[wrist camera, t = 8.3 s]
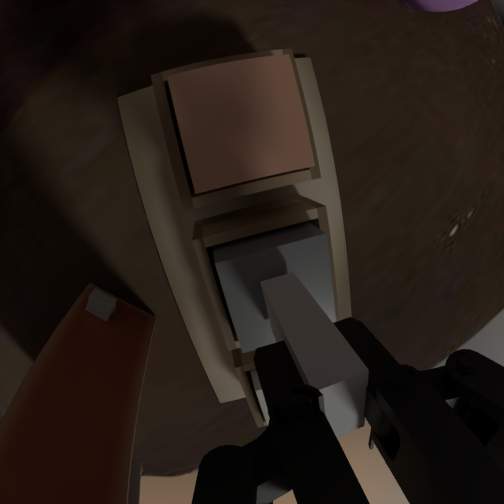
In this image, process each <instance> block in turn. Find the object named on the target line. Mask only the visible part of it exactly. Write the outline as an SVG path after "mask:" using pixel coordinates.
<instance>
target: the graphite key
mask: <svg viewBox="0 0 504 504" xmlns="http://www.w3.org/2000/svg"><path fill="white" fill-rule="evenodd" d="M213 252H214V260H215V265H216V269H217V272H218V276H219V279H220V282H221V286H222V289H223V292H224V296H225V299H226V302H227V305H228V309H229V312H230V315H231V318H232V321H233V325H234V328H235V331H236V334H237V337H238V340H239V343H240V346H241V350H242V353H246V352H250V351H253V350H256V348H259V347H262V346H266V345H269V344H273V343H276V340H275V338H274V335H273V333H272V329H271V325H270V321H269V317H268V313H267V308H266V304H265V300H264V296H263V291H262V287H261V283H260V282H261V281H264V280H268V279H271V278H275V277H278V276H282V275H285V274H289V273H292V272H294V273H295V275H296V276H297V277H298V279H299V280H300V281H301V282H302V284H303V285H304V286H305V288H306V289H307V290H308V291H309V293H310V294H311V295H312V296H313V298H314V299H315V300H316V302H317V303H318V304H319V306H320V307H321V308H322V309H323V311H324V312H325V313H326V315H327V316H328V317H329V318H330V320H331V321H332V322H333V323H334V322H336V316H335V305H334V295H333V285H332V276H331V267H330V259H329V251H328V244H327V236H326V233H325V232H323V231H322V230H320V229H319V228H317V227H316V226H314V225H313V224H311V223H310V222H308V221H304V222H301V223H297V224H293V225H289V226H285V227H281V228H277V229H274V230H270V231H266V232H262V233H258V234H255V235H251V236H247V237H243V238H240V239H236V240H232V241H228V242H225V243H221V244H217V245H214V246H213Z"/></svg>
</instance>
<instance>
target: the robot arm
mask: <svg viewBox="0 0 504 504" xmlns="http://www.w3.org/2000/svg"><path fill="white" fill-rule="evenodd" d="M260 283H261V287H262V291H263V296H264V300H265V304H266V308H267V313H268V317H269V321H270V325H271V329H272V333H273V335H274V338H275V340H276V343H273V344H269V345H266V346H262V347H259V348H256V351H255V355H254V358H253V360H254V364H255V367H256V371H257V374H258V378H259V381H260V385H261V388H262V392H263V395H264V398H265V402H266V405H267V409H268V415H269V418H270V419H269V424H268V426H267V428H266V430H265V431H264V432H263V433H262V435H261V436H259V437H258V438H257V439H255V440H254V441H252V442H250V443H248V444H246V445H245V446H243V447H239V446H234V445H225V446H219V447H217V448H215V449H213V450H211V451H209V452H208V453H207V454H206V455H205V456H204V457H203V459H202V461H201V463H200V465H199V470H198V475H197V480H196V484H195V489H194V495H193V499H192V504H273V501H274V500H275V499H277V498H279V497H280V496H282V495H284V494H286V493H287V492H289V491H290V490H292V489H293V492H294V495H295V498H296V501H297V504H370V503H369V501H368V499H367V497H366V495H365V494H364V491H363V490H362V487H361V485H360V483H359V482H358V479H357V477H356V476H355V473H354V471H353V469H352V467H351V465H350V464H349V461H348V459H347V458H346V455H345V453H344V451H343V449H342V447H341V445H340V443H339V441H338V440H337V437H339V436H341V435H344V434H346V433H349V432H351V431H354V430H356V429H358V428H360V427H363V426H364V422H365V418H366V419H367V421H368V423H369V424H370V425H371V433H370V438H369V448H370V449H373V446H374V443H375V445H376V447H377V448H378V450H379V452H380V453H381V455H382V457H383V459H384V460H385V462H386V464H387V465H388V467H389V469H390V470H391V472H392V474H393V476H394V477H395V479H396V481H397V483H398V484H399V486H400V487H401V489H402V491H403V493H404V495H405V496H406V498H407V500H408V501H409V503H410V504H504V367H503V366H501V365H500V364H498V363H496V362H494V361H492V360H490V359H489V358H487V357H485V356H483V355H481V354H480V353H478V352H475V351H473V350H470V349H461V350H458V351H455V352H453V353H452V354H451V355H449V357H448V359H447V360H446V364H445V366H442V367H438V368H434V369H429V370H424V371H418V370H417V369H415V368H414V367H412V366H408V365H400V364H399V363H398V362H397V361H396V360H395V359H394V358H393V356H392V355H391V354H390V353H389V352H388V351H387V350H386V349H385V347H384V346H383V345H382V344H381V343H380V342H379V341H378V340H377V339H375V336H374V335H373V334H372V333H371V332H369V330H368V329H367V327H366V326H365V325H364V324H363V323H362V322H360V321H358V320H356V319H354V318H352V317H348V318H345V319H342V320H340V321H337V322H334V323H333V322H332V321H331V320H330V318H329V317H328V316H327V315H326V313H325V312H324V311H323V309H322V308H321V307H320V306H319V304H318V303H317V302H316V300H315V299H314V298H313V296H312V295H311V294H310V293H309V291H308V290H307V289H306V288H305V286H304V285H303V284H302V282H301V281H300V280H299V279H298V277H297V276H296V275H295V273H294V272H292V273H289V274H285V275H282V276H278V277H275V278H271V279H268V280H264V281H261V282H260Z"/></svg>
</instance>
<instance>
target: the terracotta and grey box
mask: <svg viewBox="0 0 504 504" xmlns="http://www.w3.org/2000/svg"><path fill="white" fill-rule="evenodd" d="M155 322H156V317H155V316H154V315H152V314H150V313H148V312H146V311H143V310H141V309H139V308H138V307H136V306H134V305H132V304H130V303H128V302H126V301H124V300H122V299H120V298H118V297H116V296H114V295H113V294H111V293H109V292H107V291H105V290H103V289H101V288H100V287H98V286H96V285H94V284H92V283H89V284H88V285H87V287H86V288H85V289H84V291H83V292H82V293H81V295H80V296H79V297H78V299H77V300H76V301H75V303H74V304H73V305H72V307H71V308H70V310H69V311H68V312H67V314H66V315H65V317H64V318H63V319H62V321H61V322H60V324H59V325H58V327H57V328H56V329H55V331H54V332H53V334H52V335H51V337H50V338H49V340H48V341H47V343H46V344H45V346H44V347H43V349H42V351H41V352H40V354H39V355H38V357H37V358H36V360H35V362H34V363H33V365H32V366H31V368H30V370H29V371H28V373H27V375H26V376H25V378H24V380H23V382H22V383H21V385H20V387H19V389H18V390H17V392H16V394H15V396H14V398H13V400H12V401H11V403H10V405H9V407H8V409H7V411H6V413H5V415H4V417H3V419H2V421H1V423H0V504H139V495H140V479H141V473H142V472H143V466H142V462H141V461H139V460H136V459H133V458H132V452H133V444H134V437H135V429H136V422H137V416H138V409H139V403H140V397H141V391H142V386H143V380H144V375H145V370H146V364H147V359H148V355H149V350H150V345H151V340H152V336H153V331H154V327H155Z"/></svg>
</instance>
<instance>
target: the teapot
mask: <svg viewBox="0 0 504 504" xmlns="http://www.w3.org/2000/svg"><path fill="white" fill-rule="evenodd" d="M399 1H400V2H401V3H402V4H404V5H405V6H407V7H409V8H416V9H418V10H423V11H430V12H445V11H451V10H456V9H460V8H462V7H465V6H468V5H470V4H472V3H474V2H476V1H478V0H399Z"/></svg>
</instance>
